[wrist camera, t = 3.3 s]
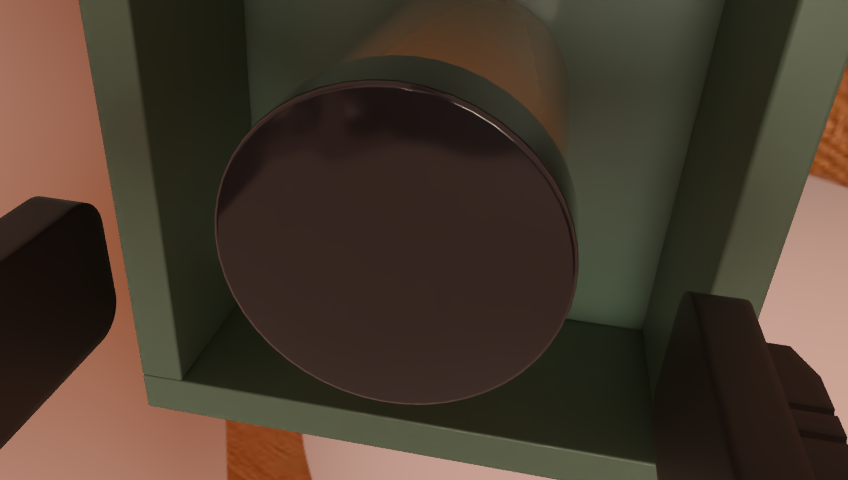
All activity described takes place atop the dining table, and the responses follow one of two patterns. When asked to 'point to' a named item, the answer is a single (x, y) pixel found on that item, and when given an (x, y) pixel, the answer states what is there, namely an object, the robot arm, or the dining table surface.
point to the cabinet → (589, 169)
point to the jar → (411, 207)
